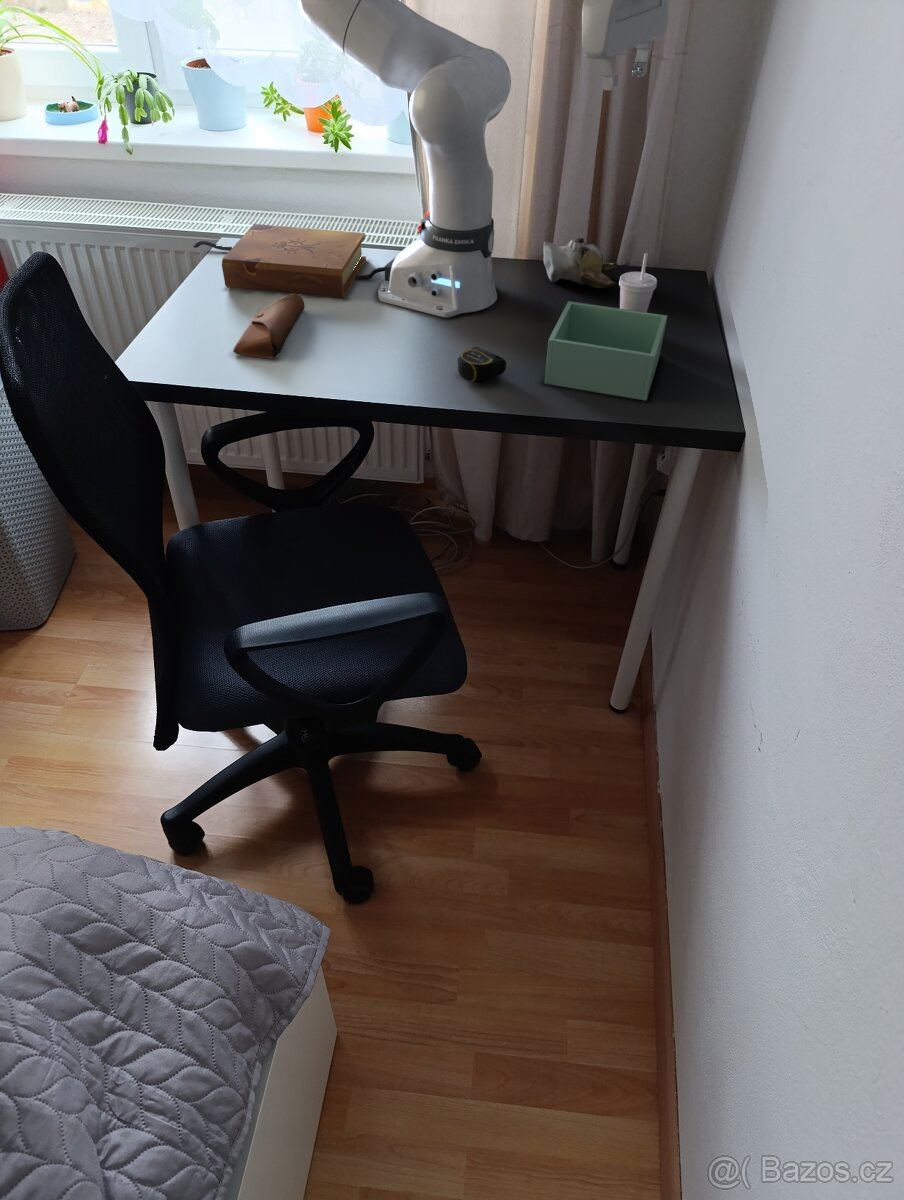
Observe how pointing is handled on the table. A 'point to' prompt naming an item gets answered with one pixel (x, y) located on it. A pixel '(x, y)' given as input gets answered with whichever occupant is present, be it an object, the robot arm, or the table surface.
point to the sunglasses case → (270, 328)
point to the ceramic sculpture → (577, 263)
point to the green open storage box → (605, 350)
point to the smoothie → (636, 289)
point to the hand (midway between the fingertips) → (624, 82)
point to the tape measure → (480, 365)
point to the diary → (294, 261)
